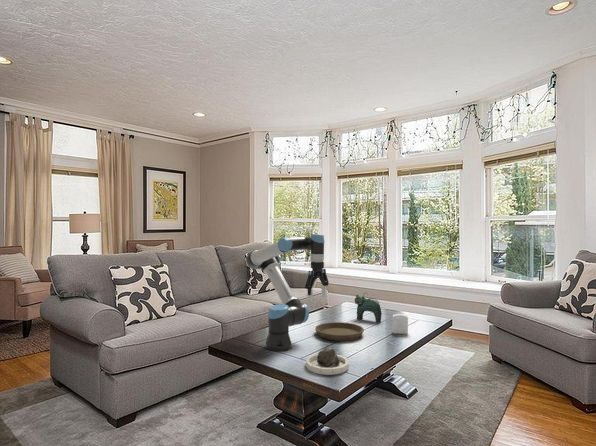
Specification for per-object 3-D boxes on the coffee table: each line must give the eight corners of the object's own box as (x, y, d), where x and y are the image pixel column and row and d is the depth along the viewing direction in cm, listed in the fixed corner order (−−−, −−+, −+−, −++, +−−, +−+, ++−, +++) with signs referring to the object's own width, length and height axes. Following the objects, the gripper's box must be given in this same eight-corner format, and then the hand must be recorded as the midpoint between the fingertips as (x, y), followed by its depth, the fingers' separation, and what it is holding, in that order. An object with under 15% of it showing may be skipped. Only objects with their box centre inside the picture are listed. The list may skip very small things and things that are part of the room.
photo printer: (407, 332, 244) (407, 313, 244) (408, 334, 240) (408, 315, 240) (391, 332, 245) (391, 313, 245) (392, 333, 241) (392, 314, 241)
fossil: (313, 365, 183) (316, 344, 187) (319, 368, 190) (322, 348, 195) (334, 368, 178) (337, 347, 183) (340, 371, 186) (342, 350, 190)
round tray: (297, 367, 184) (297, 362, 184) (321, 355, 201) (321, 350, 201) (334, 378, 171) (334, 372, 171) (356, 364, 188) (356, 359, 188)
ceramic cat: (354, 318, 278) (354, 292, 278) (357, 317, 284) (358, 290, 284) (379, 323, 267) (379, 295, 267) (382, 321, 272) (382, 293, 272)
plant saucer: (319, 326, 258) (319, 320, 258) (364, 329, 251) (364, 322, 251) (311, 340, 227) (311, 333, 227) (363, 344, 221) (363, 336, 221)
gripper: (309, 263, 198) (309, 303, 199) (334, 259, 218) (334, 296, 218) (298, 262, 203) (298, 301, 203) (324, 259, 223) (323, 294, 223)
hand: (317, 298), depth 211 cm, fingers open, 13 cm apart
